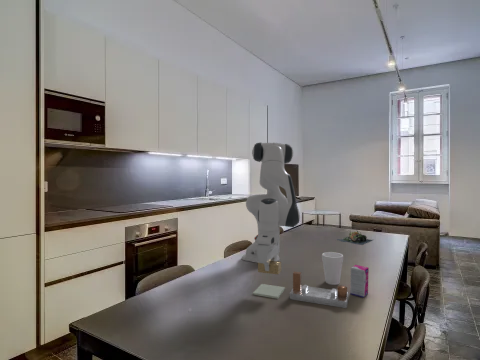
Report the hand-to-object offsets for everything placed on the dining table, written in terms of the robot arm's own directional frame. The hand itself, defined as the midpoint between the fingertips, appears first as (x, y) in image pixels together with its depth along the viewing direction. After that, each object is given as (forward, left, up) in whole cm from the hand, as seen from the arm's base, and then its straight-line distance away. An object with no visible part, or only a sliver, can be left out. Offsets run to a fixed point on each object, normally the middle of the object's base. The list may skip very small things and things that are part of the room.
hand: (269, 268), depth 129 cm
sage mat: (0, 0, -10) cm, 10 cm away
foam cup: (+24, +22, -11) cm, 34 cm away
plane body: (+21, +1, -10) cm, 23 cm away
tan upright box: (0, 0, -1) cm, 1 cm away
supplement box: (+36, +12, -11) cm, 39 cm away
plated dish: (+30, +122, -11) cm, 126 cm away
